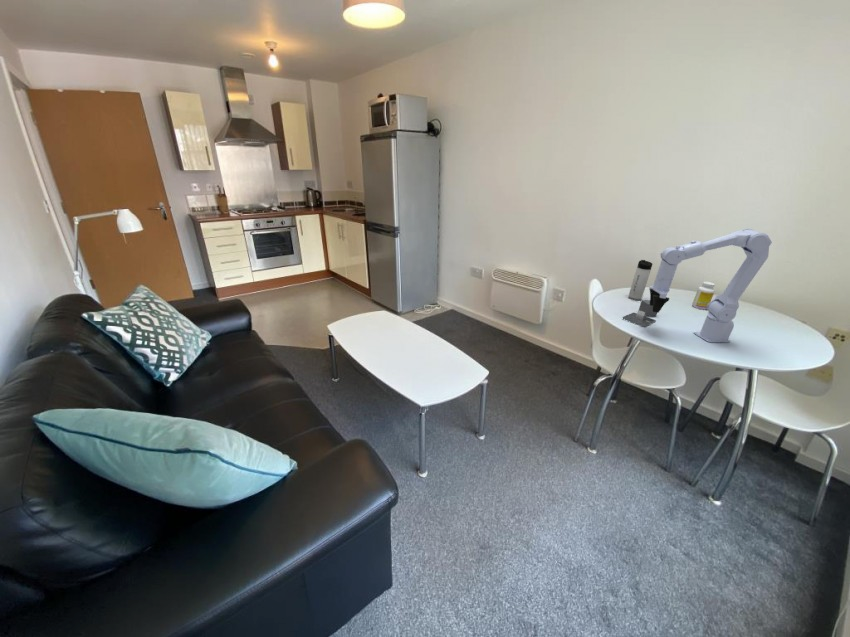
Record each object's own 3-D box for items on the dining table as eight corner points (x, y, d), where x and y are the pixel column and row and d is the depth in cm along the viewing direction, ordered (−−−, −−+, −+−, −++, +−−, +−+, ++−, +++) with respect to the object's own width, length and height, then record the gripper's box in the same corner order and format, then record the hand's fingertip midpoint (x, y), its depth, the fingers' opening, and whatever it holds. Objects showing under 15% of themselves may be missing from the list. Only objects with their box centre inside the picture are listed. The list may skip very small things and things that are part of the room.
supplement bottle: (710, 310, 175) (720, 285, 169) (697, 309, 175) (707, 285, 169) (701, 304, 181) (710, 281, 175) (688, 304, 181) (697, 280, 175)
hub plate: (633, 314, 166) (635, 305, 164) (655, 322, 159) (658, 313, 157) (622, 318, 161) (624, 309, 159) (644, 327, 154) (647, 318, 152)
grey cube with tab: (648, 311, 170) (652, 299, 167) (656, 316, 165) (660, 303, 162) (638, 311, 169) (641, 299, 167) (645, 316, 165) (649, 303, 162)
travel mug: (637, 296, 189) (649, 260, 180) (643, 301, 183) (655, 263, 174) (625, 295, 189) (636, 259, 181) (631, 300, 183) (642, 262, 175)
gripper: (650, 271, 149) (640, 301, 155) (656, 281, 137) (645, 313, 143) (669, 274, 147) (659, 303, 153) (677, 284, 135) (665, 316, 141)
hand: (653, 308), depth 148 cm, fingers open, 7 cm apart
